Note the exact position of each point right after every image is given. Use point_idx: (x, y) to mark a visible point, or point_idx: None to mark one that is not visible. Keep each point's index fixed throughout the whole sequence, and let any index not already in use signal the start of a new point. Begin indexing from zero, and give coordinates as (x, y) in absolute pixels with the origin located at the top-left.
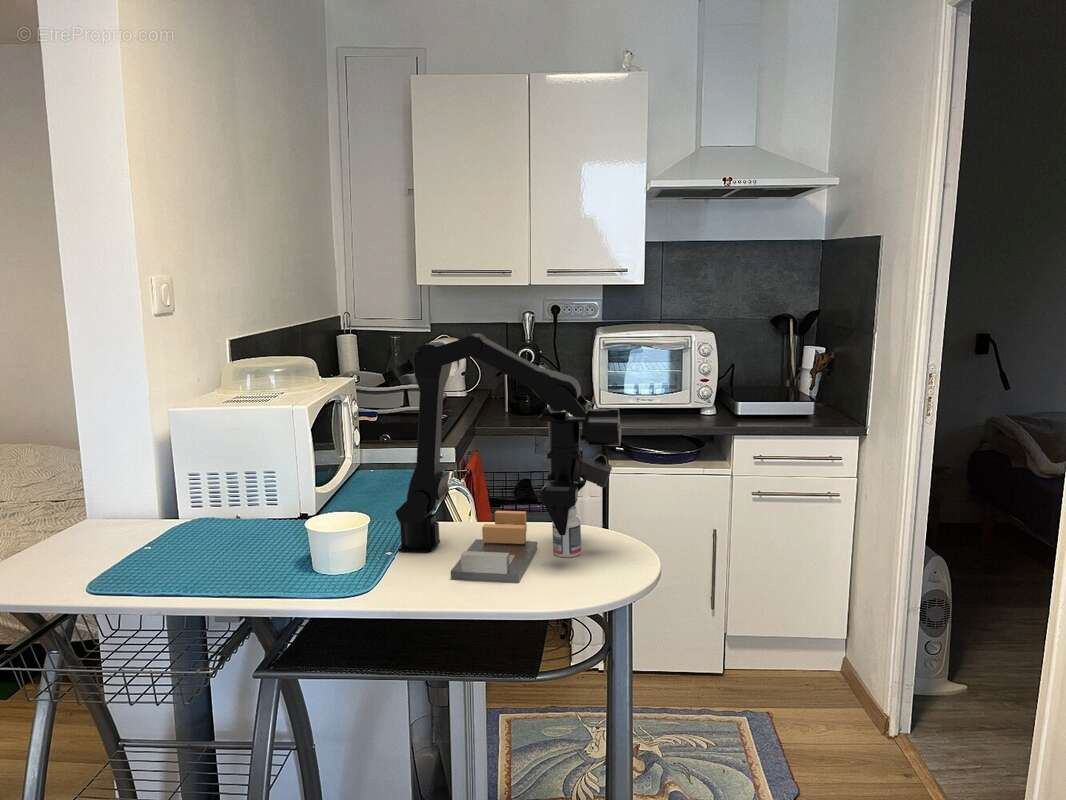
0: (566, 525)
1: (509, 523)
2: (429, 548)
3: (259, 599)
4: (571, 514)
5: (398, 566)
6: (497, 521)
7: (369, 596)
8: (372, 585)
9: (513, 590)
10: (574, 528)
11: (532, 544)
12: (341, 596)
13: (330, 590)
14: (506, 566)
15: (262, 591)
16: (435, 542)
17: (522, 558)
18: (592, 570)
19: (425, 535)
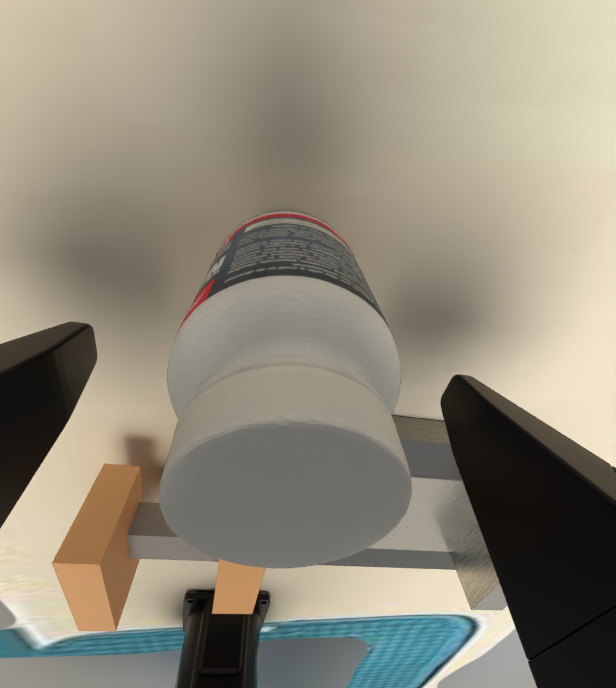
0: (543, 422)
1: (128, 547)
2: (256, 602)
3: (443, 671)
4: (390, 422)
5: (346, 610)
6: (129, 580)
7: (486, 611)
8: (436, 617)
9: (597, 440)
10: (385, 321)
11: None
12: (470, 630)
13: (438, 641)
14: None
15: (415, 675)
16: None
17: (422, 454)
18: (563, 162)
19: (249, 646)
